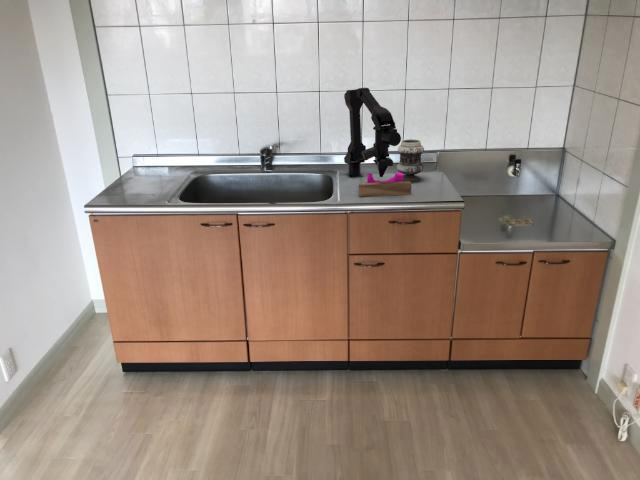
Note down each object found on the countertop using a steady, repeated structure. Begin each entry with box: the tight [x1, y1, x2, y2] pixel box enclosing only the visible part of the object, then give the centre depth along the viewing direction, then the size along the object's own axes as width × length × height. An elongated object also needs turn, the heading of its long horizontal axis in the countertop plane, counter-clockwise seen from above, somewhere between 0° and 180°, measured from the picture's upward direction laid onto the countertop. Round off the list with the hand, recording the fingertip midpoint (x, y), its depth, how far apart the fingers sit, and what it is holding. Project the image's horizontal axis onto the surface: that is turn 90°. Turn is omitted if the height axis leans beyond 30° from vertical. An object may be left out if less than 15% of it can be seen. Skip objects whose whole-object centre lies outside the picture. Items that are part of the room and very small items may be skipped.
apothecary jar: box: [396, 138, 425, 183], centre depth 231 cm, size 12×12×18 cm
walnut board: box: [357, 181, 412, 198], centre depth 214 cm, size 3×22×5 cm, turn 96°
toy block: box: [366, 172, 404, 183], centre depth 220 cm, size 15×6×8 cm, turn 92°
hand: (381, 177), depth 221 cm, fingers closed
